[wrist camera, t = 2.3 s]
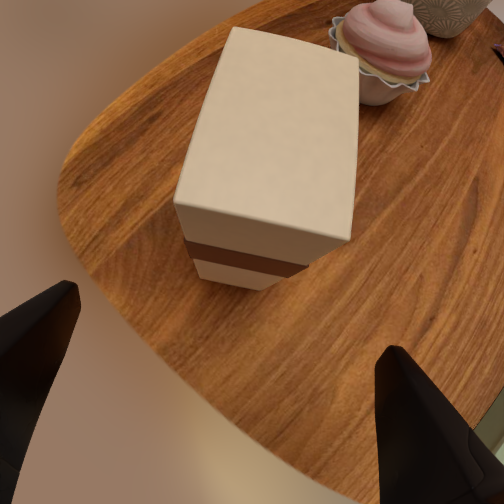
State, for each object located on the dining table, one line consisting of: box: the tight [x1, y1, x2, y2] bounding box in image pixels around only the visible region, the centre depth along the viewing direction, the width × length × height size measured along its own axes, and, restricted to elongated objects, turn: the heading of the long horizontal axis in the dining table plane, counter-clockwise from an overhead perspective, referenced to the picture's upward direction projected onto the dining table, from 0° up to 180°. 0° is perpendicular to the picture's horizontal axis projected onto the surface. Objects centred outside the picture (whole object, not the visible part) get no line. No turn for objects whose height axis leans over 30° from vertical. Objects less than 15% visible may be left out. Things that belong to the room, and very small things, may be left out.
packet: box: [173, 27, 359, 291], centre depth 14 cm, size 6×4×14 cm
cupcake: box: [329, 0, 432, 106], centre depth 20 cm, size 9×9×10 cm
